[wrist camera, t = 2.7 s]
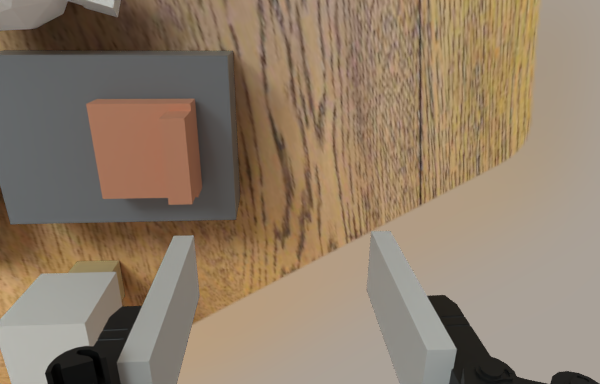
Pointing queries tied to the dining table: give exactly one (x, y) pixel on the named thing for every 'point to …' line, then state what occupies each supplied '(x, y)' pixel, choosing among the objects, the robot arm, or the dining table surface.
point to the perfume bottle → (45, 11)
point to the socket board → (78, 140)
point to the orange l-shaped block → (146, 148)
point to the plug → (58, 317)
